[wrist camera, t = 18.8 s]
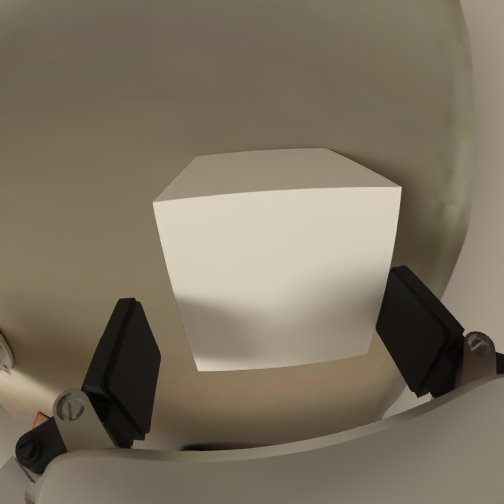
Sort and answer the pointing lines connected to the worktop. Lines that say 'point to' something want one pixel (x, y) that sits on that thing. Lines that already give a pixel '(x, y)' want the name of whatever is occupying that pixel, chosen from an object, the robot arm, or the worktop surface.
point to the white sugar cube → (277, 255)
